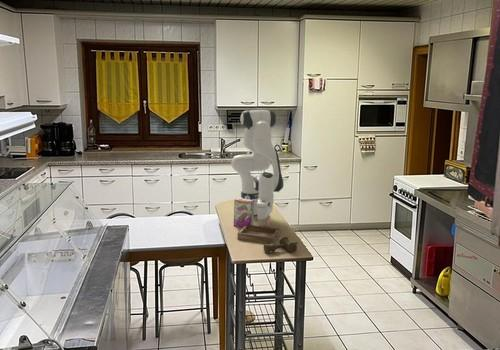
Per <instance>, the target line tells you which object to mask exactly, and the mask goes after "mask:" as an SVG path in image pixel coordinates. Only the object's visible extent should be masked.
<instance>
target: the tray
mask: <svg viewBox="0 0 500 350" xmlns="http://www.w3.org/2000/svg"><path fill="white" fill-rule="evenodd" d="M280 232H281V231H280V228H277V227H262V226H260V225H254V224H253V225H245V226H244V227H242V228H241V229H240V230H239V231H238V232H237V235H236V236H237V238H236V239H237V240H241V241H249V242H254V243H255V242H256V243H263V244H268V245H270V244H272V243H273V244H275V243H274V242H275V241H276V240H277V239H278V237H279V236H280Z"/></svg>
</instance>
